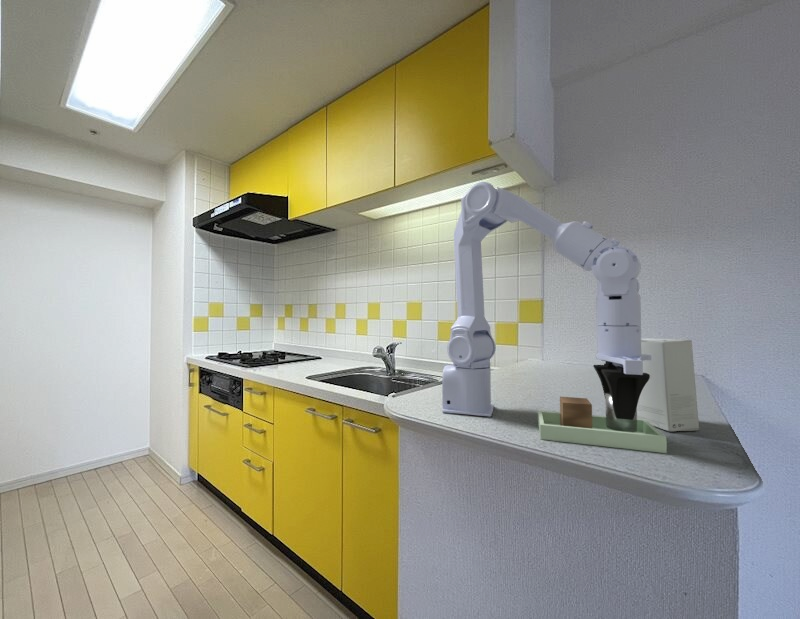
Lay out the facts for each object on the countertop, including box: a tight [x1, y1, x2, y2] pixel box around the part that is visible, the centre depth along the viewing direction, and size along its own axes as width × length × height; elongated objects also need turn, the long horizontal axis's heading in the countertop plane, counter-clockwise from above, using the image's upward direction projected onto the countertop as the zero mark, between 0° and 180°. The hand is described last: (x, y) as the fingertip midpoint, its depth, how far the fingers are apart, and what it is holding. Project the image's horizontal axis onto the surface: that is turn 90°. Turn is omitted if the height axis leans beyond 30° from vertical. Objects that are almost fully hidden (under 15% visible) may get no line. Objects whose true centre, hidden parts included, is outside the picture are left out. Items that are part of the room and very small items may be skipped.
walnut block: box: [559, 396, 593, 429], centre depth 53 cm, size 4×4×5 cm
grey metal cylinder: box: [604, 392, 637, 432], centre depth 51 cm, size 4×4×5 cm
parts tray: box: [537, 410, 668, 454], centre depth 52 cm, size 16×8×2 cm, turn 70°
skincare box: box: [637, 337, 700, 432], centre depth 58 cm, size 8×6×15 cm
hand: (620, 414), depth 51 cm, fingers closed on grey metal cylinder, 4 cm apart
